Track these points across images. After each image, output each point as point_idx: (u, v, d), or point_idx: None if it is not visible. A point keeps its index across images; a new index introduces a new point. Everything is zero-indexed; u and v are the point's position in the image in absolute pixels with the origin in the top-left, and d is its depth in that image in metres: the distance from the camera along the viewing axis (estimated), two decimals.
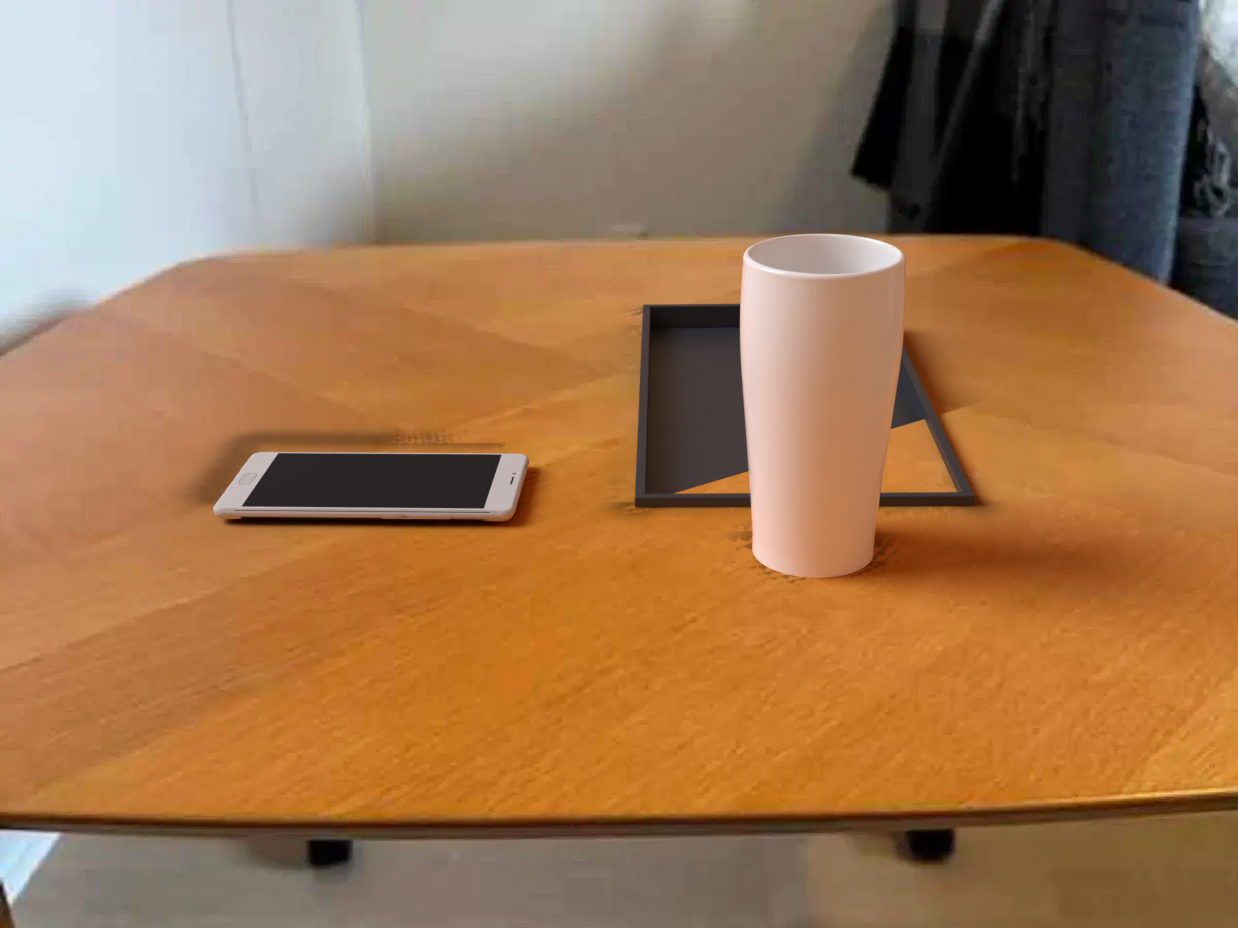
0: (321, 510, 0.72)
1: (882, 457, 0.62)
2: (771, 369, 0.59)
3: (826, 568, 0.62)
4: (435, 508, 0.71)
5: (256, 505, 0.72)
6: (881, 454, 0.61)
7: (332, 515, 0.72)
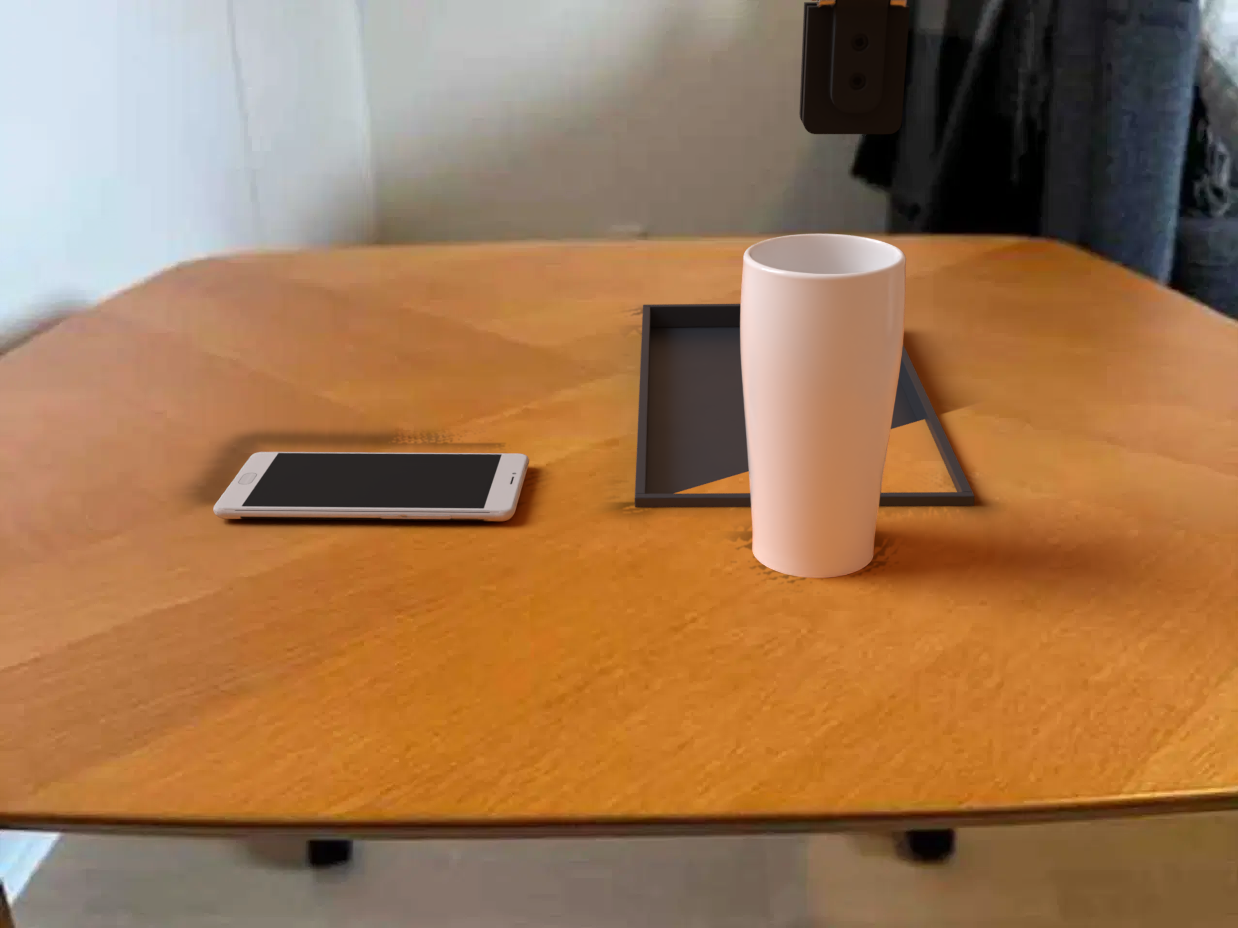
0: (321, 510, 0.72)
1: (882, 457, 0.62)
2: (771, 369, 0.59)
3: (826, 568, 0.62)
4: (435, 508, 0.71)
5: (256, 505, 0.72)
6: (881, 454, 0.61)
7: (332, 515, 0.72)
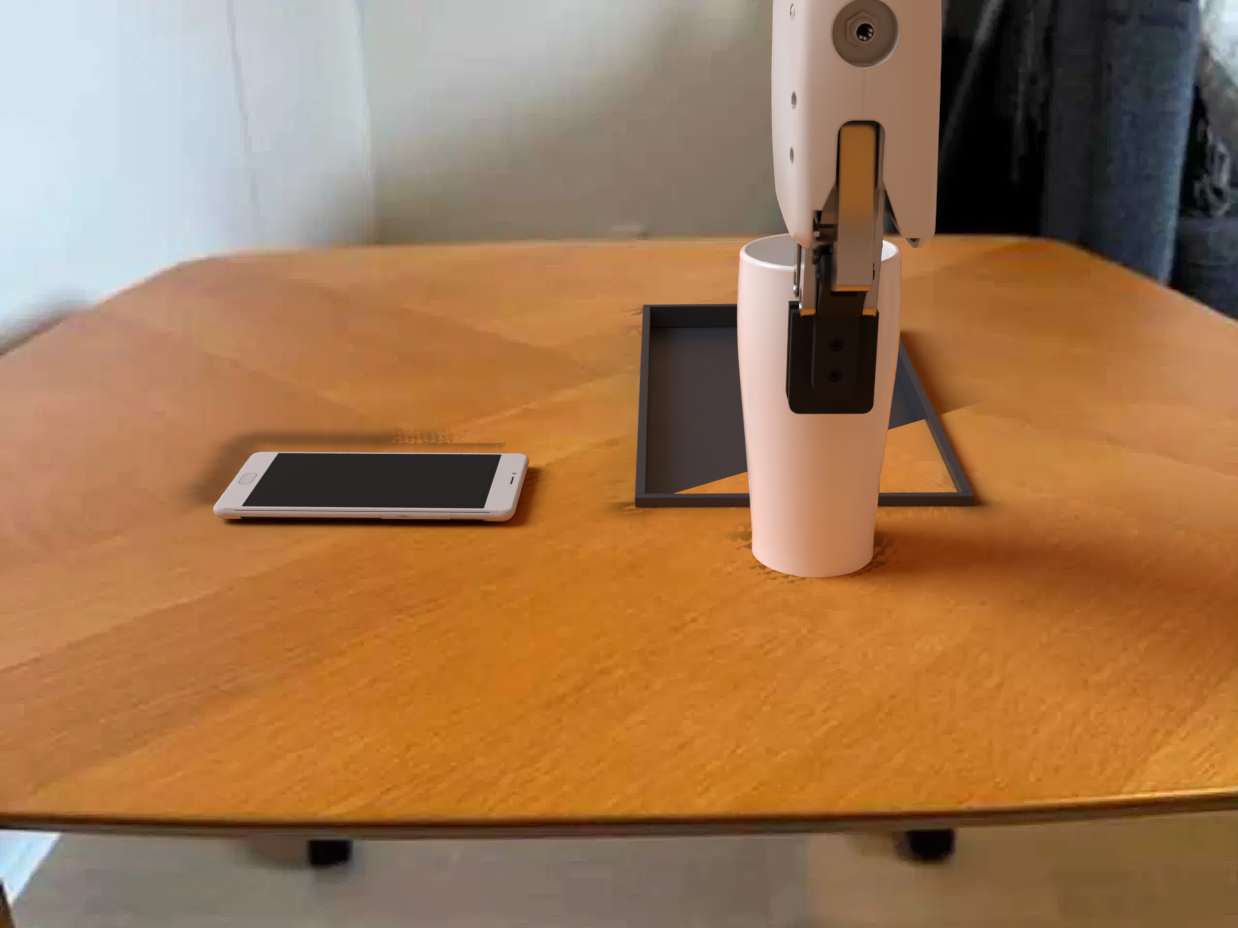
0: (321, 510, 0.72)
1: (880, 453, 0.62)
2: (768, 364, 0.59)
3: (825, 564, 0.62)
4: (435, 508, 0.71)
5: (256, 505, 0.72)
6: (879, 449, 0.62)
7: (332, 515, 0.72)
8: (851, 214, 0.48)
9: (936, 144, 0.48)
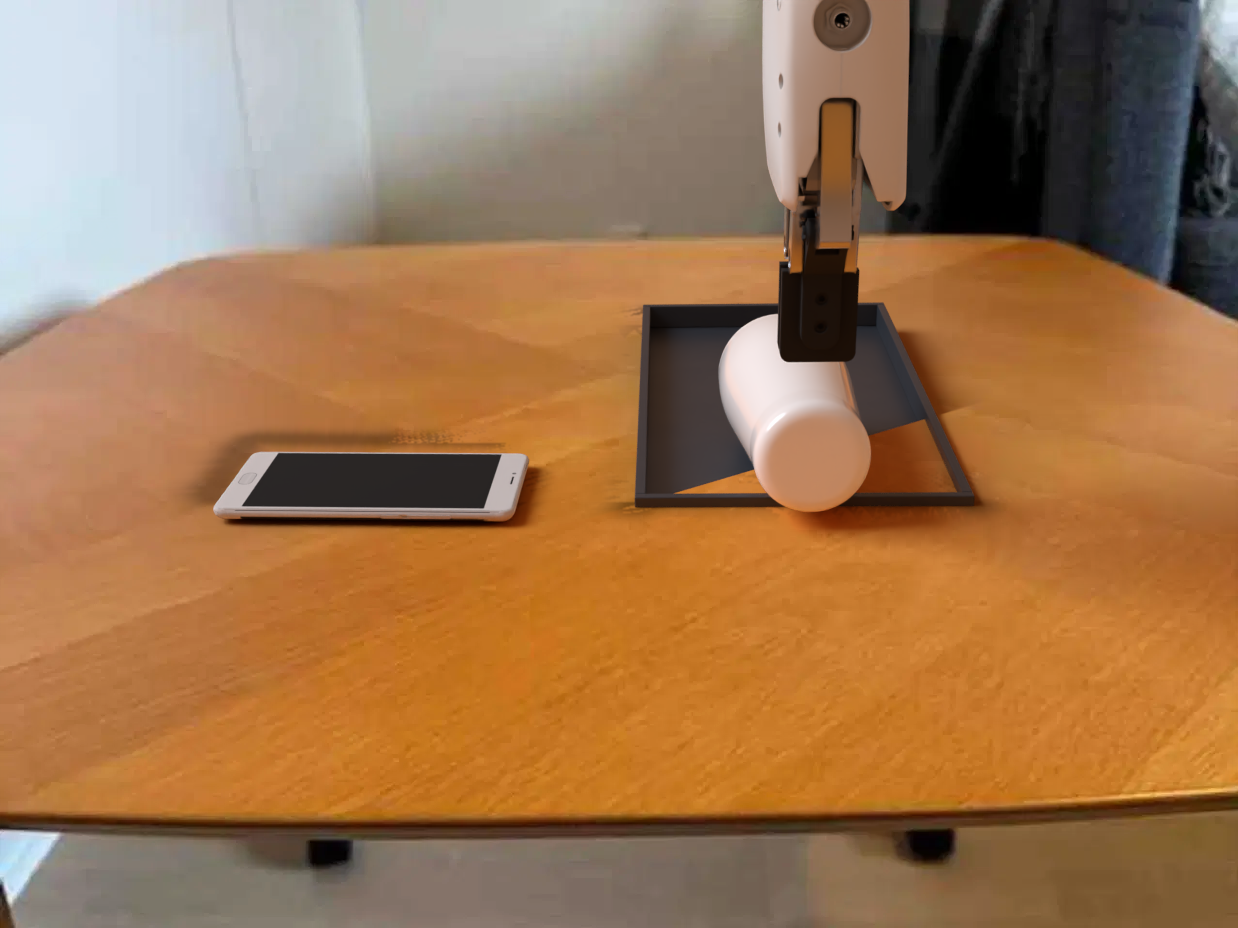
0: (321, 510, 0.72)
1: (852, 390, 0.71)
2: (746, 345, 0.75)
3: (819, 392, 0.66)
4: (435, 508, 0.71)
5: (256, 505, 0.72)
6: (850, 385, 0.71)
7: (332, 515, 0.72)
8: (832, 180, 0.55)
9: (905, 118, 0.54)
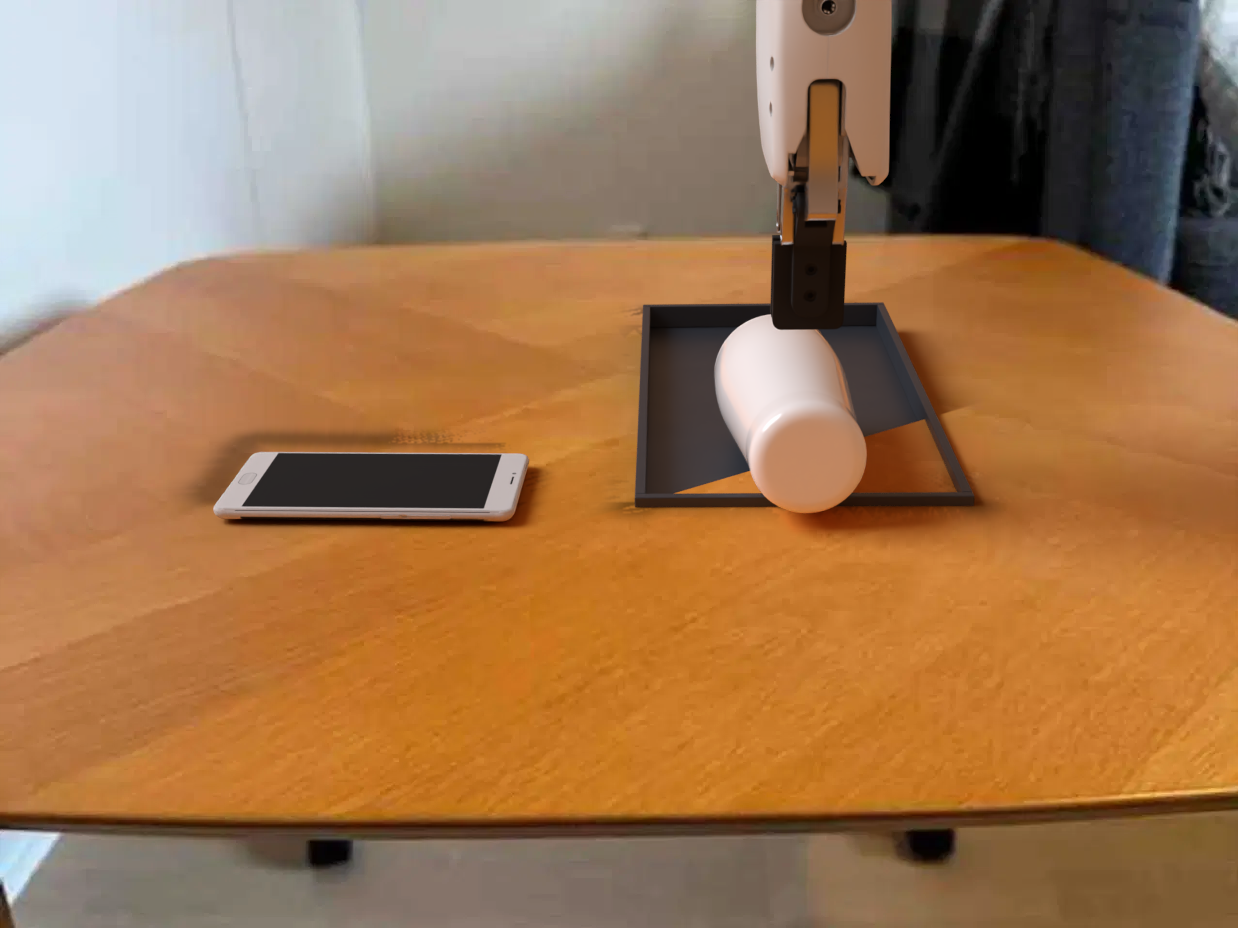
0: (321, 510, 0.72)
1: (846, 387, 0.71)
2: (738, 349, 0.75)
3: (811, 393, 0.66)
4: (435, 508, 0.71)
5: (256, 505, 0.72)
6: (843, 382, 0.71)
7: (332, 515, 0.72)
8: (819, 156, 0.59)
9: (888, 98, 0.58)
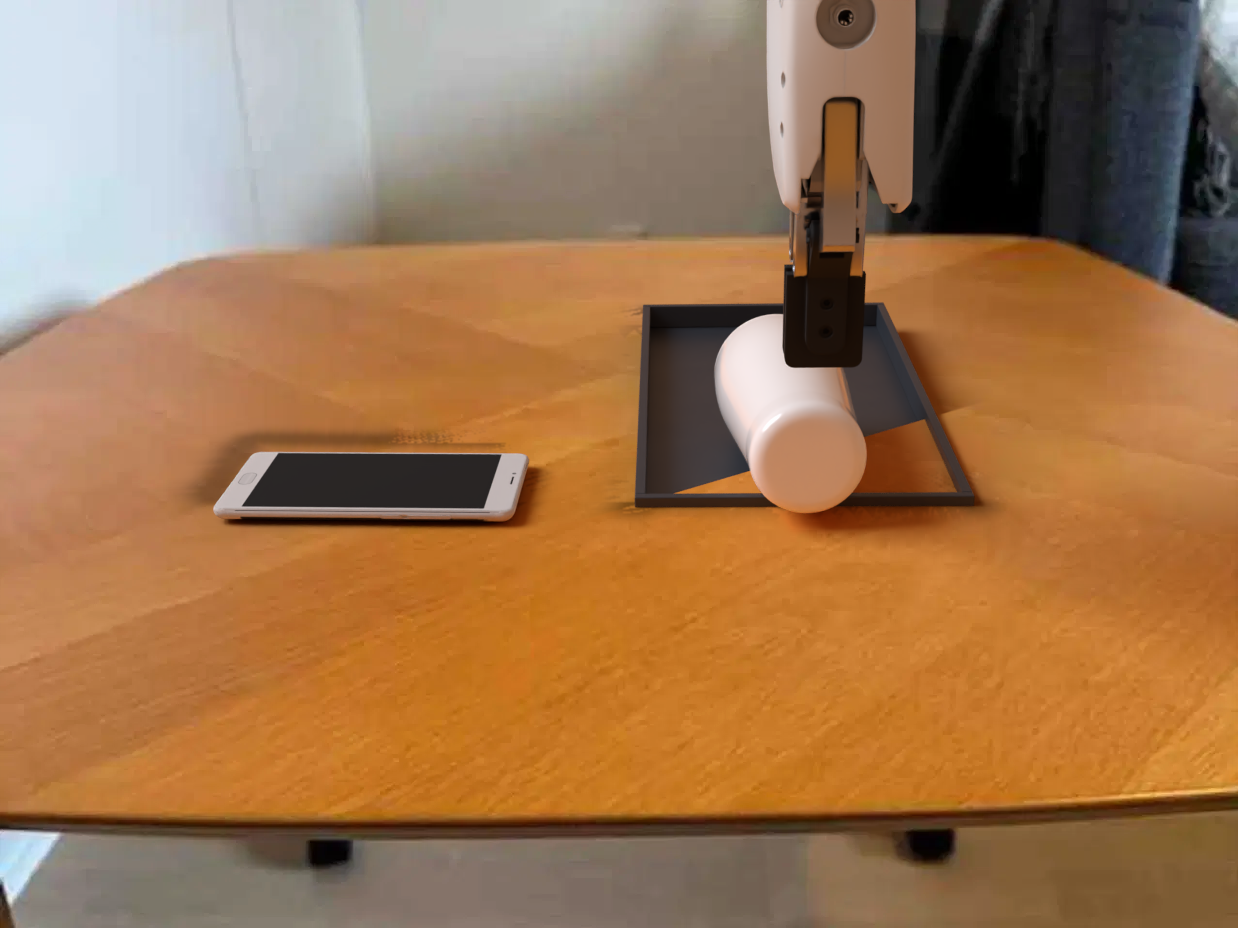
0: (321, 510, 0.72)
1: (846, 387, 0.71)
2: (738, 349, 0.75)
3: (811, 393, 0.66)
4: (435, 508, 0.71)
5: (256, 505, 0.72)
6: (843, 382, 0.71)
7: (332, 515, 0.72)
8: (835, 182, 0.54)
9: (911, 118, 0.53)
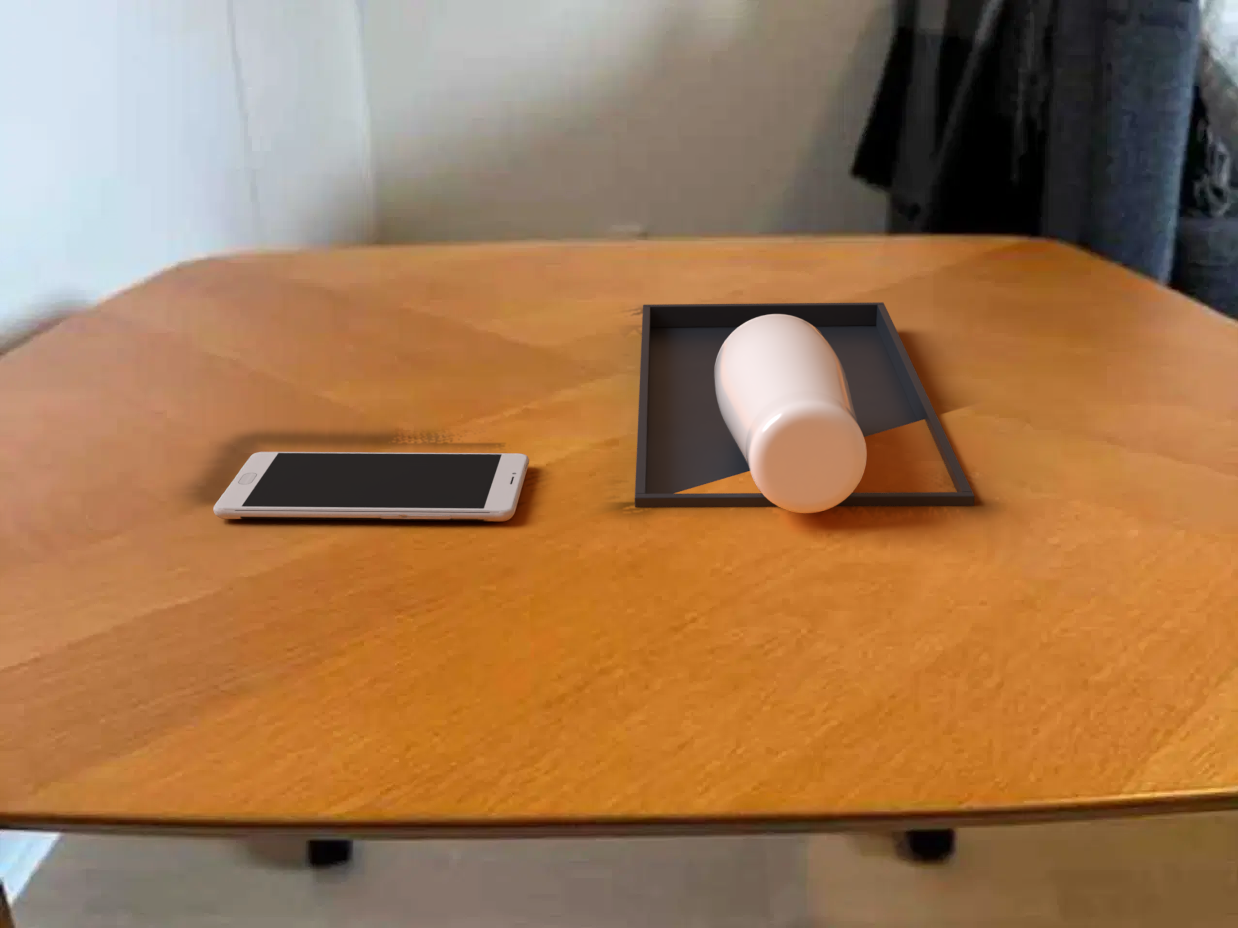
0: (321, 510, 0.72)
1: (846, 387, 0.71)
2: (738, 349, 0.75)
3: (811, 393, 0.66)
4: (435, 508, 0.71)
5: (256, 505, 0.72)
6: (843, 382, 0.71)
7: (332, 515, 0.72)
8: None
9: None
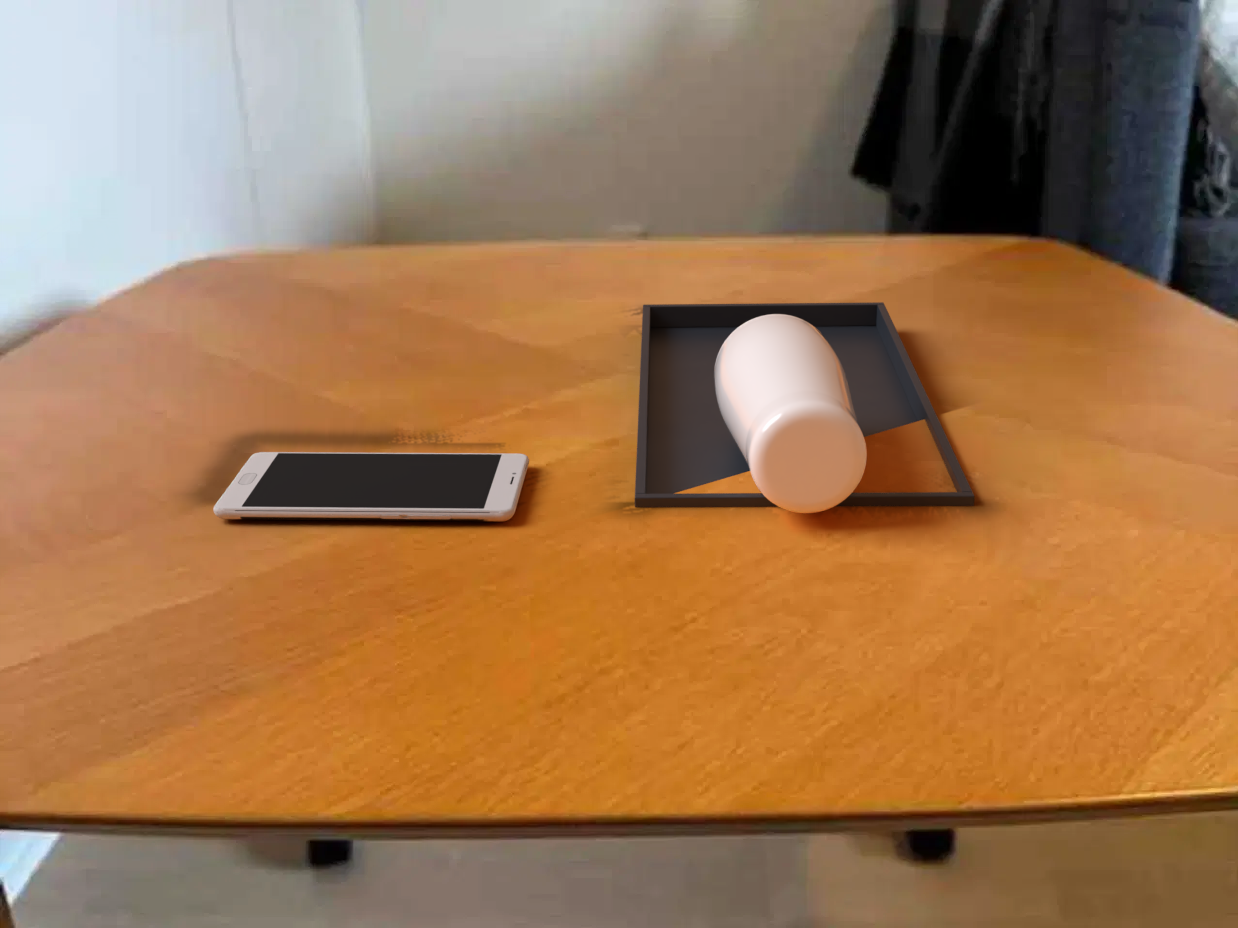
0: (321, 510, 0.72)
1: (846, 387, 0.71)
2: (738, 349, 0.75)
3: (811, 393, 0.66)
4: (435, 508, 0.71)
5: (256, 505, 0.72)
6: (843, 382, 0.71)
7: (332, 515, 0.72)
8: None
9: None
